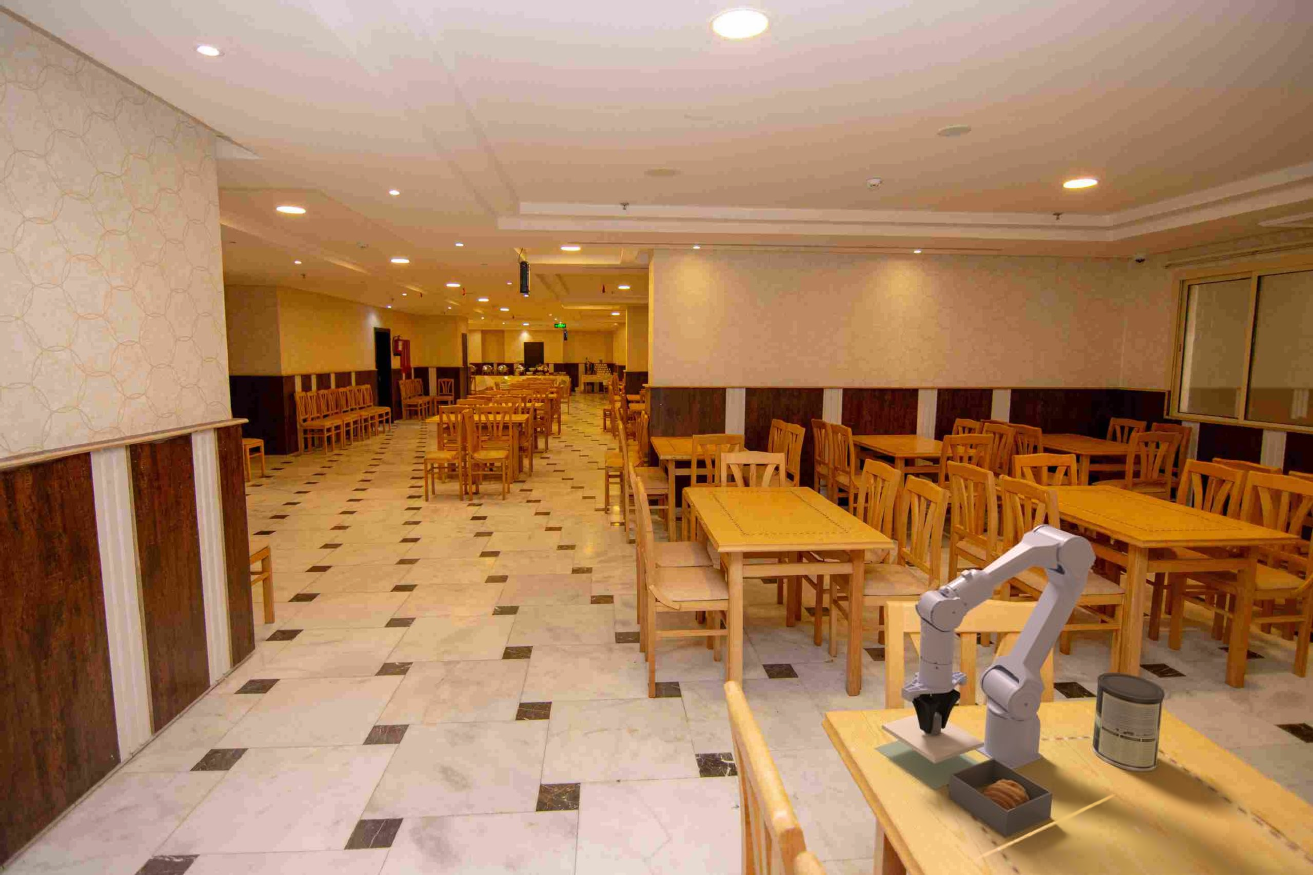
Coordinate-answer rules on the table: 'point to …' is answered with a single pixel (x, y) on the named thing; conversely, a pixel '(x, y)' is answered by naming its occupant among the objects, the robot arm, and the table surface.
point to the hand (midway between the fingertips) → (932, 728)
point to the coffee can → (1127, 721)
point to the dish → (990, 811)
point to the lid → (933, 738)
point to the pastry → (1006, 794)
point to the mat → (925, 764)
